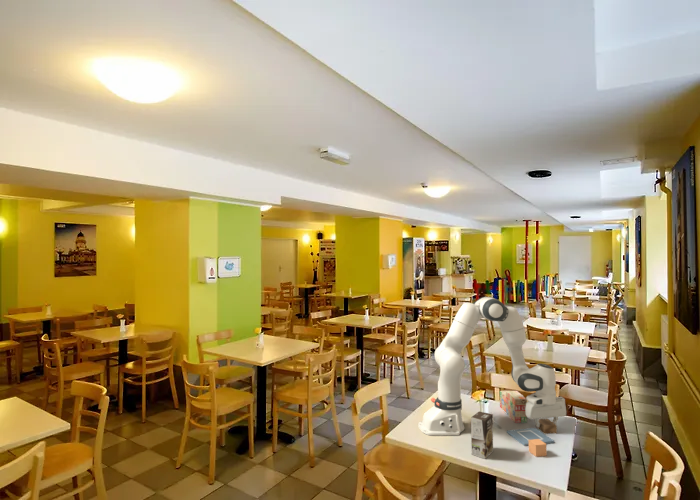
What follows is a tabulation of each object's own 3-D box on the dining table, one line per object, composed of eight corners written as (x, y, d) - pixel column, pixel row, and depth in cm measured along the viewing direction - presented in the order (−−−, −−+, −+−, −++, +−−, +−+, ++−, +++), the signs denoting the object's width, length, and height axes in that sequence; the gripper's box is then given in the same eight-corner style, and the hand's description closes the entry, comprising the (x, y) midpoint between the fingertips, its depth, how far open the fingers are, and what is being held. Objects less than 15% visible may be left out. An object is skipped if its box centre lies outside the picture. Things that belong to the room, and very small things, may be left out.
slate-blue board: (524, 446, 179) (524, 443, 179) (506, 432, 193) (506, 430, 193) (554, 443, 182) (554, 440, 182) (534, 429, 196) (534, 427, 196)
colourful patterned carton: (499, 407, 226) (499, 385, 226) (510, 407, 226) (510, 385, 226) (515, 423, 205) (514, 398, 205) (527, 422, 205) (527, 398, 205)
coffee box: (485, 459, 168) (485, 420, 168) (470, 454, 172) (470, 416, 172) (493, 451, 175) (493, 414, 175) (479, 446, 179) (479, 410, 179)
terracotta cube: (536, 457, 170) (535, 445, 170) (528, 451, 175) (528, 439, 175) (546, 455, 171) (546, 444, 171) (539, 450, 176) (538, 438, 176)
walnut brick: (544, 434, 192) (544, 425, 192) (536, 427, 200) (536, 418, 200) (556, 433, 192) (556, 425, 192) (547, 426, 200) (547, 418, 200)
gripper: (560, 394, 201) (560, 421, 201) (523, 397, 197) (523, 425, 197) (569, 398, 195) (569, 427, 195) (531, 401, 191) (531, 430, 191)
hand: (546, 426), depth 196 cm, fingers open, 7 cm apart
